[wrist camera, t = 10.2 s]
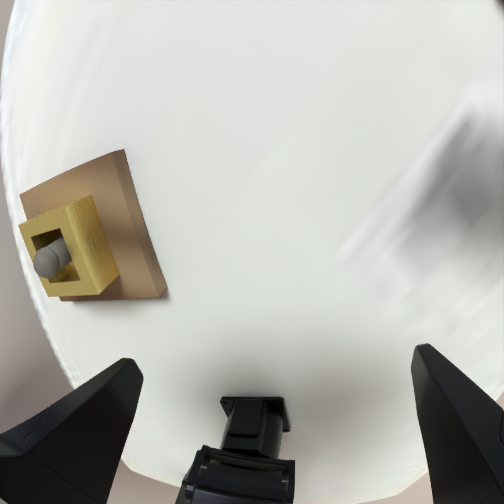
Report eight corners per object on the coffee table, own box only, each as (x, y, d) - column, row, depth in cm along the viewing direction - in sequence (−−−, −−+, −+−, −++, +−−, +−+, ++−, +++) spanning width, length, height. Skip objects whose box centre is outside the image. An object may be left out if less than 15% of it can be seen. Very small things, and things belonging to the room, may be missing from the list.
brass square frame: (119, 273, 21) (98, 294, 18) (68, 279, 22) (48, 296, 20) (91, 194, 18) (64, 207, 16) (42, 212, 20) (18, 225, 17)
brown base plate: (166, 286, 23) (129, 339, 17) (69, 293, 25) (31, 330, 20) (123, 148, 18) (61, 167, 13) (30, 190, 21) (-21, 213, 15)
